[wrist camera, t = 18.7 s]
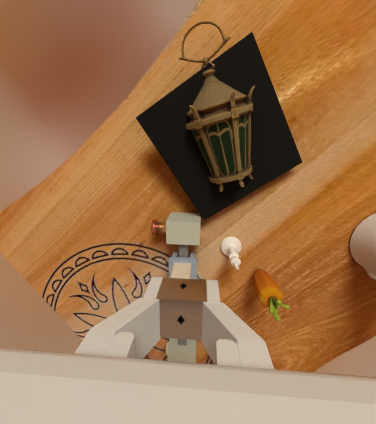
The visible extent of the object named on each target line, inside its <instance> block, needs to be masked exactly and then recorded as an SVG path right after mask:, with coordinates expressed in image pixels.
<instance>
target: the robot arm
mask: <svg viewBox="0 0 376 424" xmlns="http://www.w3.org/2000/svg"><path fill="white" fill-rule="evenodd" d="M350 252H351V255H352V257H353V258H354V260H355V261H356V262H357V263H358V264H359V265H361V266H362V267H364V268H365V270H366V272H367V274H368V276H369V277H371V278H372V279H375V280H376V213H375V214H373V215H371V216H369V217H368V218H366V219H365V220H363V221H362V222H361V223H360V224H359V225H358V226H357V228H356V229H355V231H354V232H353V234H352V237H351V240H350ZM160 338H177V339H189V340H198V341H201V342H202V344H203V346H204V347H205V349H206V351H207V352H208V354H209V356H210V357H211V359H212V361H213V363H214V364H215V365H213V364H200V363H187V362H175V361H162V360H149V359H143V358H144V357H145V356H146V354H147V353H148V352H149V351H150V350H151V349H152V348H153V347H154V345H155V344H156V343H157V342H158V341H159V340H160ZM0 424H376V378H375V377H363V376H351V375H337V374H325V373H313V372H300V371H288V370H275V369H274V367H273V364H272V361H271V358H270V355H269V353H268V350H267V347H266V344H265V341H264V340H263V339H262V338H261V337H260V336H258V335H257V334H256V333H255V332H254V331H253V330H252V329H251V328H250V327H249V326H248V325H247V324H246V323H245V322H243V321H242V320H241V319H240V318H239V317H238V316H237V315H236V314H235V313H234V312H233V311H232V310H231V309H230V308H228V307H227V306H226V305H225V304H224V303H221V302H220V294H219V286H218V280H204V279H184V278H170V277H155V276H153V277H152V278H151V280H150V282H149V284H148V287H147V289H146V292H145V294H144V296H143V298H139V299H137V300H135V301H134V302H132V303H131V304H129V305H127V306H126V307H124V308H123V309H121V310H120V311H118V312H116V313H115V314H113V315H112V316H110V317H108V318H107V319H105V320H104V321H102V322H100V323H99V324H97V325H96V326H94V327H92V328H91V329H90V330H89V332H88V333H87V335H86V336H85V338H84V339H83V341H82V343H81V344H80V346H79V347H78V349H77V350H76V352H75V353H61V352H49V351H37V350H25V349H12V348H0Z"/></svg>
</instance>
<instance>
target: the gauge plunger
mask: <svg viewBox="0 0 376 424" xmlns="http://www.w3.org/2000/svg"><path fill="white" fill-rule="evenodd" d="M151 230H152V234H153V235H157V233H166V222H158V221H157V220H153V221H152V227H151Z"/></svg>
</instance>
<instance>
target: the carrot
mask: <svg viewBox="0 0 376 424" xmlns="http://www.w3.org/2000/svg"><path fill="white" fill-rule="evenodd" d="M254 288H255V292H256V295H257V298H258V300H259V301H260V302H261V303H262V304H263V306H264V307H269V312H270V313H272V314H273V317H274V319H275V320H276V321H280V320H281V319H280V317H279V315H278V310H277V307H278V308H280V306H279V305H281V306H282V307H284V308H290V306H289V305H285V304H283V303H281V302H282V298H283V293H282V292H281V290H280V288H279V287H278V285H277V284H276V282H275V281H274V280H273V279H272V277H271V276H270V275H269V274H268V273H267V272H266V271H264V270H261V269H257V270H256V271H255V274H254ZM276 306H277V307H276Z"/></svg>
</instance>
